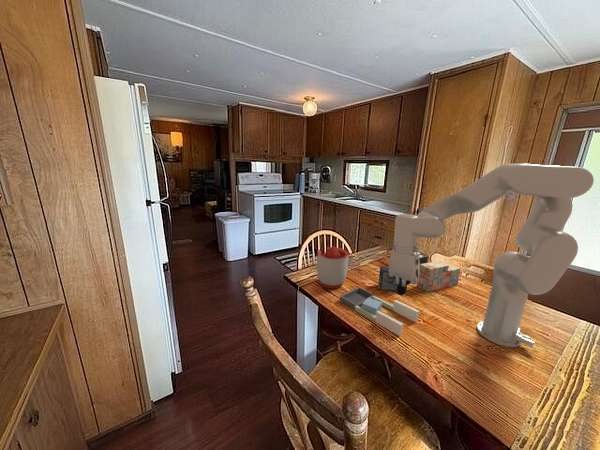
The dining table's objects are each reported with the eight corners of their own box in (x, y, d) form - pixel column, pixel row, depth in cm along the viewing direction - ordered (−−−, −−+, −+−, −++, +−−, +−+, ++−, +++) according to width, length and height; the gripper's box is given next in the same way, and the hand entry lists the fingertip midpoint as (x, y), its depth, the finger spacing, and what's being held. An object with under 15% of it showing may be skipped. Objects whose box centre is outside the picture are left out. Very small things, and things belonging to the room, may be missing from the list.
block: (381, 310, 102) (382, 302, 101) (375, 317, 97) (376, 308, 96) (367, 305, 105) (368, 297, 104) (361, 311, 101) (362, 303, 100)
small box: (399, 285, 123) (401, 266, 120) (403, 292, 117) (406, 272, 114) (377, 284, 124) (380, 265, 121) (380, 290, 118) (383, 270, 115)
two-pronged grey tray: (417, 321, 95) (419, 311, 94) (399, 336, 87) (401, 325, 86) (358, 291, 117) (359, 282, 116) (339, 300, 108) (340, 291, 107)
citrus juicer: (329, 272, 136) (330, 238, 131) (353, 285, 122) (356, 247, 117) (307, 280, 126) (308, 244, 121) (331, 294, 113) (333, 254, 108)
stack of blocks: (446, 279, 130) (450, 258, 127) (457, 285, 125) (462, 262, 121) (416, 286, 123) (419, 263, 120) (426, 292, 117) (430, 268, 114)
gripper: (430, 250, 84) (426, 297, 89) (391, 241, 96) (389, 283, 100) (420, 256, 80) (416, 305, 84) (380, 246, 91) (378, 290, 96)
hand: (401, 293), depth 92 cm, fingers closed
